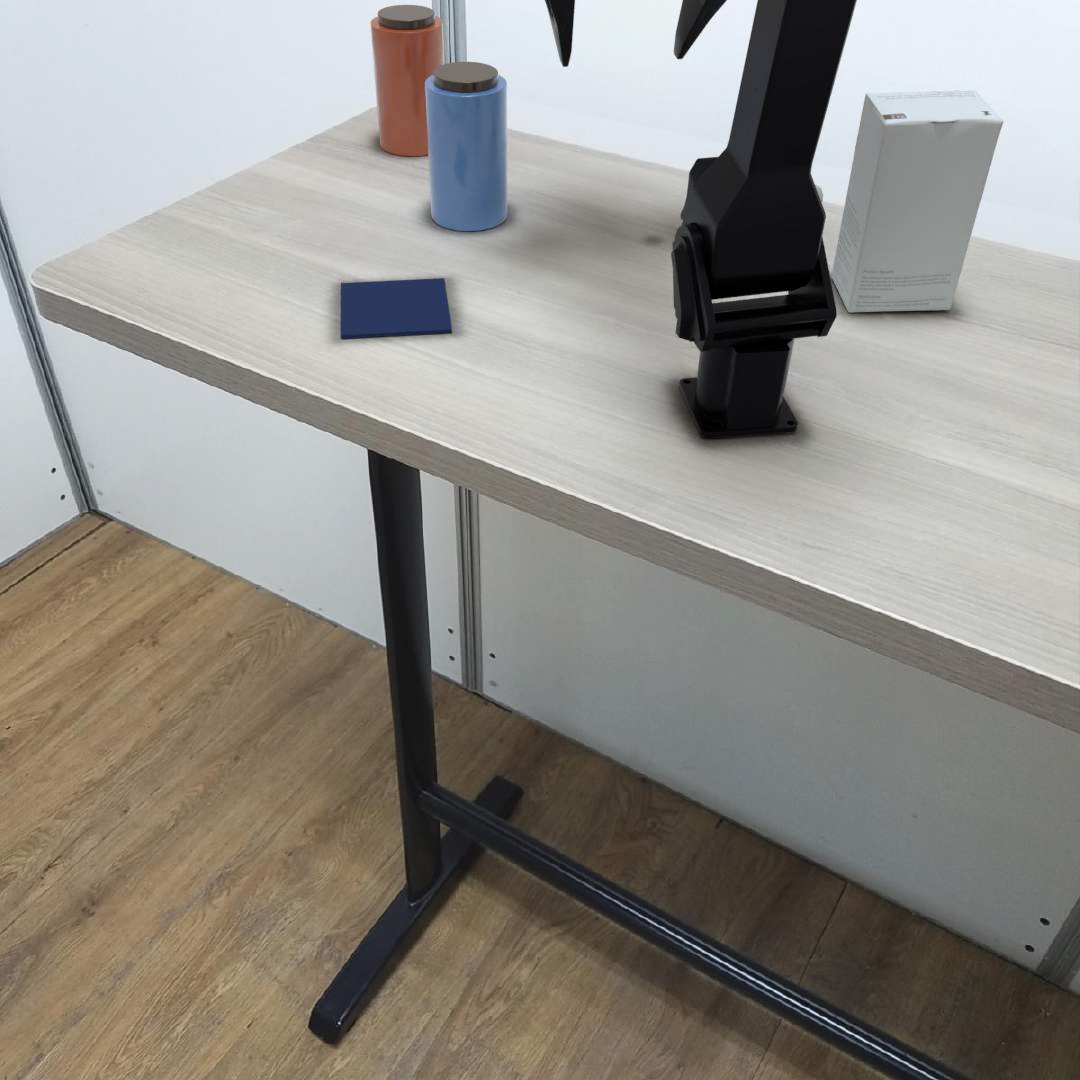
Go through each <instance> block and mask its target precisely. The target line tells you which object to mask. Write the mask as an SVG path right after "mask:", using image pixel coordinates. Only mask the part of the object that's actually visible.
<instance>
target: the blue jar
mask: <svg viewBox="0 0 1080 1080" xmlns="http://www.w3.org/2000/svg"><path fill="white" fill-rule="evenodd" d="M425 100H426V120H427V140H428V155H427V157H428V159H427V160H428V175H429V177H428V178H429V193H430V194H429V196H430V198H429V199H430V215H431V219H432V220H433V222H434V223H436V224H437V225H439V226H441V227H442V228H445V229H449V230H453V231H460V232H478V231H479V232H480V231H485V230H490V229H492V228H496V227H498V226H500V225H502V224H503V223H504V222H505V221H506V219H507V217H508V82H507V80H506V78H504V77H503V76H502V75H500V74H499V71H498V69H497V68H496V67H495V66H492V65H490V64H487V63H483V62H478V61H477V62H476V61H454V62H449V63H444V65H441V66H438V67H437V68H435V69H434V71H433V75H431V76H430V77H428V78H427V79H426V81H425Z"/></svg>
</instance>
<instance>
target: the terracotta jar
mask: <svg viewBox="0 0 1080 1080" xmlns="http://www.w3.org/2000/svg"><path fill="white" fill-rule="evenodd" d="M376 14H377V16H375V17H373V18H372V19H371V20H370V23H369V24H370V35H371V36H370V38H371V48H372V49H371V50H372V60H373V73H374V74H373V75H374V85H375V99H376V110H377V111H376V112H377V123H378V137H379V138H378V139H379V145H380V148H381V149H382V150H383V151H385V152H386V153H389V154H392V155H395V156H402V157H423V156H428V140H427V120H426V100H425V81H426V79H427V78H428V77H430V76H431V75H433V71H434V69H435V68H437V67H438V66H441V65H444V64H445V47H444V46H445V44H444V43H445V41H444V21H443V19H442V18H441V17H439V16H436V13H435V10H434V9H432V8H430V7H427V6H424V5H417V4H397V5H396V4H395V5H389V6H385V7H383V8H380V9H379V10H378V11H377V13H376Z"/></svg>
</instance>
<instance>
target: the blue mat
mask: <svg viewBox="0 0 1080 1080" xmlns="http://www.w3.org/2000/svg"><path fill="white" fill-rule="evenodd" d="M446 286H447V285H446V281H445V278H444V277H441V278H437V277H436V278H421V279H420V278H417V279H399V280H397V279H396V280H378V281H377V280H375V281H355V282H341V283H340V339H343V340H344V339H362V338H377V337H378V338H379V337H380V338H381V337H396V336H397V337H399V336H415V335H416V336H417V335H434V334H435V335H436V334H452V333H453V328H452V321H451V314H450V308H449V307H450V306H449V301H448V294H447V287H446Z"/></svg>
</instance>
